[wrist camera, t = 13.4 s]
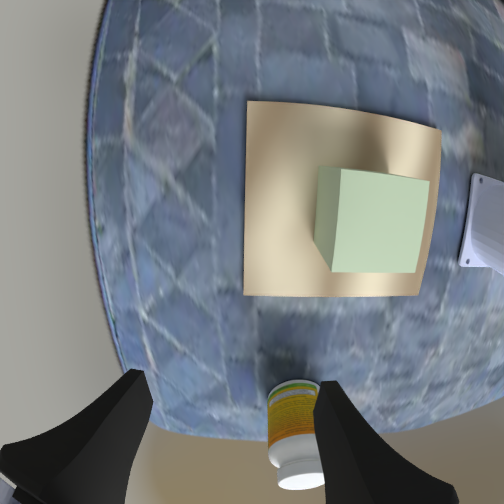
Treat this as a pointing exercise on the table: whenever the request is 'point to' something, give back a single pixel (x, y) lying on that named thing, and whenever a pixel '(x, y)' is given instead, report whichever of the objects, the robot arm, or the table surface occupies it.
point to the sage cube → (369, 220)
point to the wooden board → (305, 193)
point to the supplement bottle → (294, 435)
